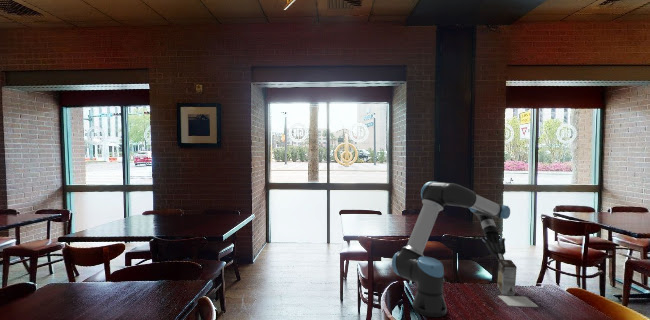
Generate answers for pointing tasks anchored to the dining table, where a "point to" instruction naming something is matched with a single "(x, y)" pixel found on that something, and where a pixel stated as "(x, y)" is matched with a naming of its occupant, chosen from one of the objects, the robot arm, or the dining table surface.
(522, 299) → the mat
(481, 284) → the dining table surface
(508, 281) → the coffee box
